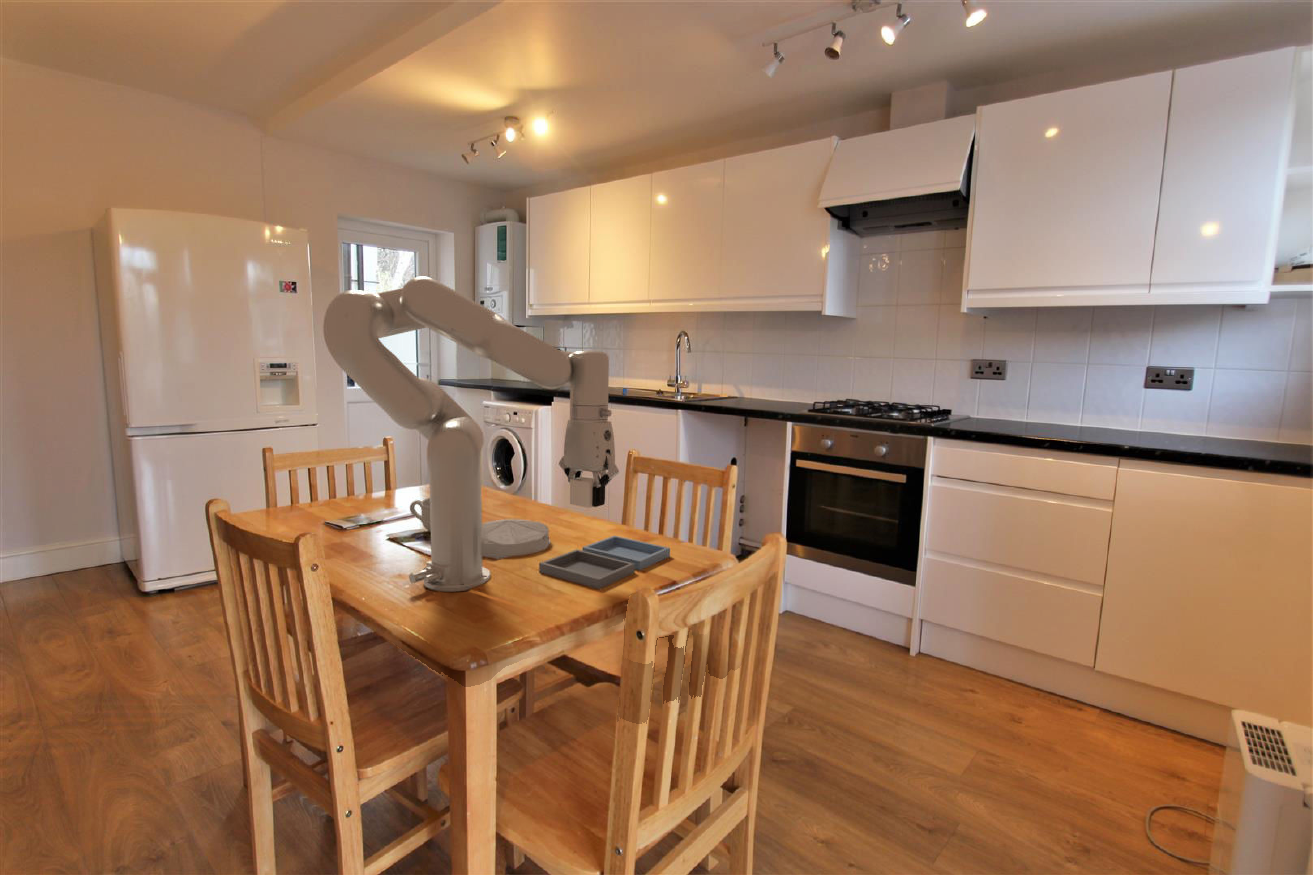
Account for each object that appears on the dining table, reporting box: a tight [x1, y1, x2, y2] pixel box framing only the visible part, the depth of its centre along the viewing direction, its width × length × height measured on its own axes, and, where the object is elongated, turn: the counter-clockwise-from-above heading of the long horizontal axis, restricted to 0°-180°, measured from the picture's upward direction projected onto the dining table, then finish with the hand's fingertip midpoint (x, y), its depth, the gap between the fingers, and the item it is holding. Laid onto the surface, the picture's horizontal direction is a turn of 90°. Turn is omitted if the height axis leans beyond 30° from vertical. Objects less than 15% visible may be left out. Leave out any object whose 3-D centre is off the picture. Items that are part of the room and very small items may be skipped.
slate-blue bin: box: [582, 535, 671, 571], centre depth 140 cm, size 12×16×2 cm
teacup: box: [409, 497, 431, 533], centre depth 158 cm, size 14×11×8 cm
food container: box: [482, 518, 552, 561], centre depth 147 cm, size 20×20×7 cm
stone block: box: [569, 475, 606, 509], centre depth 127 cm, size 5×5×5 cm
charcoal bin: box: [538, 548, 636, 590], centre depth 129 cm, size 12×16×2 cm
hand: (587, 502), depth 127 cm, fingers closed on stone block, 5 cm apart
